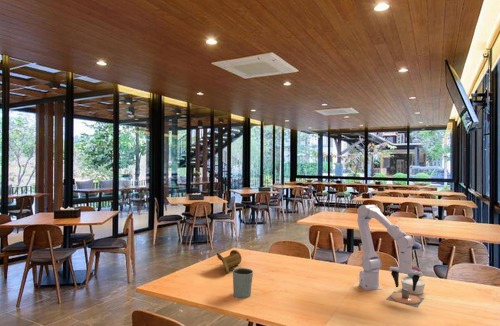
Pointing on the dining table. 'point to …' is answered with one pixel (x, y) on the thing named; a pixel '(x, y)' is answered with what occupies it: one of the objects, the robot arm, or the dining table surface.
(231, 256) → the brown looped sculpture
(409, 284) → the ramekin
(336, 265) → the dining table surface
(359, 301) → the dining table surface
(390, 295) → the mat
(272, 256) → the dining table surface
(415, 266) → the cupcake
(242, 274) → the grey cup
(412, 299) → the lid
